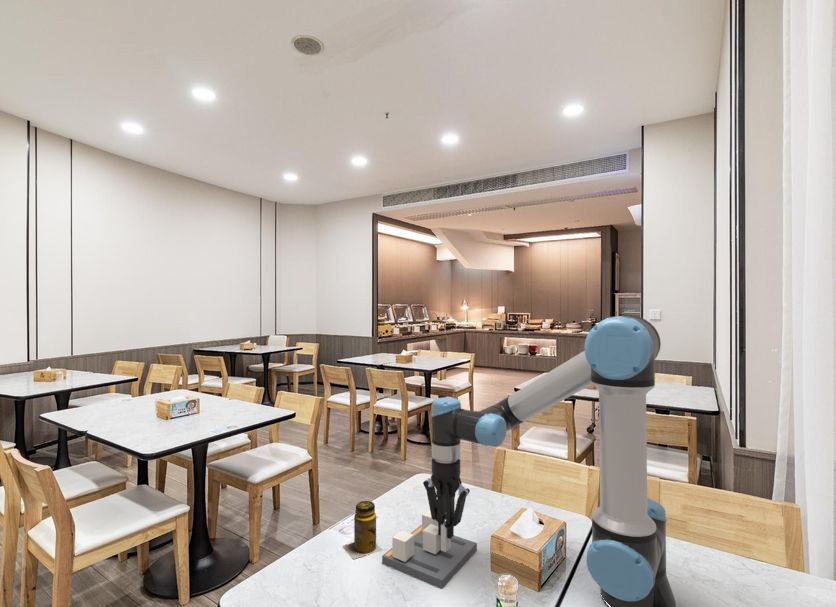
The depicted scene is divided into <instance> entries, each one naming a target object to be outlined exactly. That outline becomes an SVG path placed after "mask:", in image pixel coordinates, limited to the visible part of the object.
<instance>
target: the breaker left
mask: <svg viewBox="0 0 836 607" xmlns="http://www.w3.org/2000/svg"><path fill="white" fill-rule="evenodd" d="M410 533H411V532H407V531H404V530H400V531H399V532H397V533H396V534H395V535H394V536H392V537H391V538H392V544H391V545H392V546H391V547H392V557H394V558H397V559H399V560H402V561H404V562H406V561H407V560H408V559H409V558H410V557H411V556H412V555H414V535H413V534H410Z"/></svg>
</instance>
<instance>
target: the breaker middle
mask: <svg viewBox="0 0 836 607" xmlns="http://www.w3.org/2000/svg"><path fill="white" fill-rule="evenodd" d="M423 550H425V551H428V552H431V553H433V554H437V553H438V552H439V551H440V550H441V536H440V535H439V534H438V526H435V525H432V524H430V525H429V526H428V527H427V528H425V529H424V530H423Z"/></svg>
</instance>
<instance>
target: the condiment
mask: <svg viewBox="0 0 836 607" xmlns="http://www.w3.org/2000/svg"><path fill="white" fill-rule="evenodd" d="M375 507H376V505H375V503H374V502H373V501H370V500H361V501H359V502H357V504H356V506H355V513H354V517H353V518H354V521H353V522H354V523H353V524H354V526H353V527H354V528H353V529H354V537H353V538H354V539H353V541H354V542H351V543H348V544H344V545H342V547H343V549H344V550H345V551H346V552H347V554H348V555H349V556H350V557H351V558H352V560H357V559H359V558H362V557H364V556H368V555H371V554H374V553H377V552H379V551H381V550H382V548H381V547H380V546H379V545H378V544H377V513H376V510H375V509H376V508H375Z"/></svg>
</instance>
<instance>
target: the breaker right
mask: <svg viewBox="0 0 836 607" xmlns="http://www.w3.org/2000/svg"><path fill="white" fill-rule="evenodd" d="M430 524H432V525H435V526H438V522H437V521H436V520H433V519H432V517H431V512H430V508H429V509H427V510H426V511H425V512H424V513H423V514H422V515H421V525H422V533H423V530H424V529H425V528H427V527H428V526H429V525H430Z"/></svg>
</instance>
